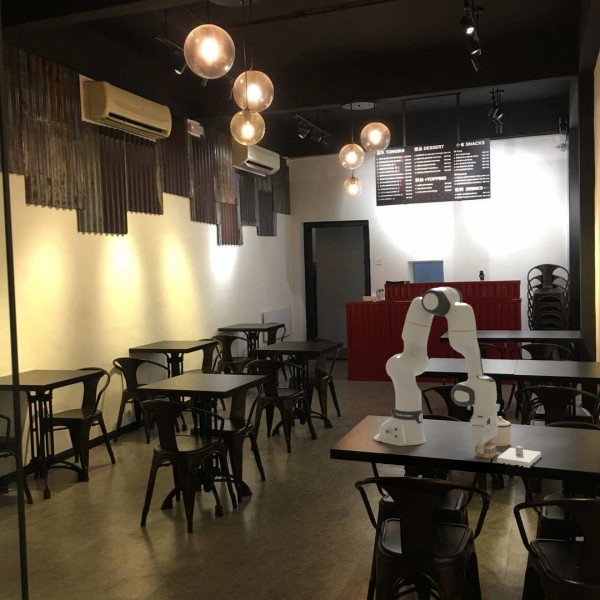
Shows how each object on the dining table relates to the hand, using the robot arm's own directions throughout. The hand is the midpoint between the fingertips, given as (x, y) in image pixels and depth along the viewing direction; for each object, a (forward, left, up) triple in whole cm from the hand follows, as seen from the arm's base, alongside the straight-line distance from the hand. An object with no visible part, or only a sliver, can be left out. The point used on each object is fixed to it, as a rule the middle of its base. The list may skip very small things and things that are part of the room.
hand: (485, 451), depth 249 cm
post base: (+13, +1, -2) cm, 13 cm away
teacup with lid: (-2, +19, -2) cm, 19 cm away
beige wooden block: (0, 0, -2) cm, 2 cm away
